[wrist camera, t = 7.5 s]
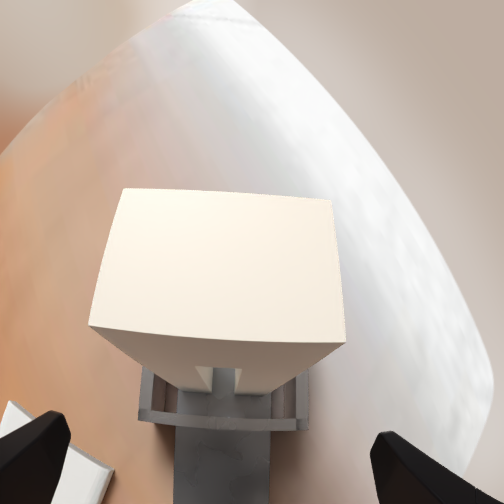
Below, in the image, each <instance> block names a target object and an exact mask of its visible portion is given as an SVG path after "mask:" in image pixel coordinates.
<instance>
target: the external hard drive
mask: <svg viewBox="0 0 504 504" xmlns="http://www.w3.org/2000/svg"><path fill="white" fill-rule="evenodd" d="M34 419H36V418H35V417H34V416H33V415H32V414H30V413H29V412H28V411H27V410H25V409H24V408H23V407H22V406H20V405H19V404H18V403H17V402H16V401H10V400H9V401H8V404H7V407H6V410H5V412H4V415H3V418H2V421H1V424H0V438H1V437H3V436H5V435H7V434H9V433H11V432H12V431H14V430H16V429H18V428H20V427H21V426H23V425H25V424H27V423H29V422H30V421H32V420H34ZM113 472H114V469H113V468H112V467H110V466H108V465H106V464H104V463H103V462H101V461H99V460H98V459H96V458H94V457H92V456H91V455H89V454H88V453H86V452H84V451H83V450H81V449H80V448H78V447H76V446H75V445H73V444H72V443H69V447H68V450H67V454H66V458H65V462H64V466H63V470H62V474H61V477H60V480H59V483H58V486H57V489H56V491H55V494H54V497H53V500H52V502H51V504H101V502H102V500H103V497H104V495H105V492H106V489H107V487H108V484H109V482H110V479H111V477H112V474H113Z"/></svg>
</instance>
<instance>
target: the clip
mask: <svg viewBox="0 0 504 504" xmlns="http://www.w3.org/2000/svg"><path fill="white" fill-rule="evenodd" d="M88 326H90V327H91V328H92V329H93V330H95V331H96V332H97V333H99V334H100V335H101V336H103V337H104V338H105V339H106V340H108V341H109V342H110V343H112V344H113V345H114V346H116V347H117V348H119V349H120V350H121V351H123V352H124V353H125V354H127V355H128V356H130V357H131V358H133V359H134V360H135V361H137V362H138V363H140V364H141V365H143V366H144V367H146V368H147V369H149V370H150V371H152V372H153V373H155V374H156V375H158V376H159V377H161V378H162V379H164V380H165V381H167V382H168V383H170V384H172V385H173V386H175V387H176V388H178V389H180V390H181V391H187V392H198V393H211V394H212V378H213V367H217V368H234V369H235V388H234V395H250V396H265V395H267V394H268V393H270V392H272V391H273V390H275V389H276V388H278V387H280V386H281V385H283V384H285V383H286V382H288V381H289V380H291V379H292V378H294V377H296V376H297V375H299V374H300V373H302V372H303V371H305V370H306V369H308V368H309V367H311V366H312V365H314V364H315V363H317V362H318V361H320V360H321V359H323V358H324V357H326V356H327V355H329V354H330V353H331V352H333V351H334V350H336V349H337V348H339V347H340V346H341V345H343V344H344V343H346V335H345V321H344V309H343V297H342V286H341V276H340V267H339V258H338V249H337V241H336V233H335V226H334V219H333V211H332V205H331V200H323V199H313V198H302V197H290V196H278V195H264V194H250V193H235V192H217V191H197V190H171V189H130V188H124V189H123V192H122V195H121V198H120V201H119V204H118V208H117V211H116V214H115V217H114V220H113V224H112V227H111V231H110V234H109V238H108V241H107V245H106V248H105V252H104V256H103V260H102V264H101V268H100V272H99V276H98V280H97V284H96V289H95V293H94V298H93V302H92V307H91V312H90V317H89V322H88Z"/></svg>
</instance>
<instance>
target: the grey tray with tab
mask: <svg viewBox="0 0 504 504" xmlns="http://www.w3.org/2000/svg"><path fill="white" fill-rule="evenodd" d="M234 388H235V369H234V368H217V367H213V378H212V394H211V393H198V392H187V391H181V390H180V389H178V397H177V413H169V412H164V407H165V394H166V381H165V380H164V379H162V378H161V377H159V376H158V375H156V374H155V373H153V372H152V371H150V370H149V369H147V368H146V367H144V366H143V367H142V377H141V388H140V399H139V412H138V420H139V421H145V422H152V423H159V424H167V425H175V426H176V431H175V453H174V488H173V504H268V503H269V473H270V435H271V431H297V430H308V369H306V370H305V371H303V372H302V373H300V374H299V375H297V376H296V377H294V378H292V379H291V380H289V381H288V382H286V383H285V384H284V419H271V392H270V393H268V394H267V395H265V396H250V395H234Z"/></svg>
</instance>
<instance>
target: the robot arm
mask: <svg viewBox="0 0 504 504" xmlns="http://www.w3.org/2000/svg"><path fill="white" fill-rule="evenodd" d="M70 439H71V433H70V430H69V427H68V424H67V422H66V419H65V417H64V415H63V414H62V413H59V412H56V411H52V410H51V411H48V412H46V413H44V414H43V415H41V416H39V417H37V418H36V419H34V420H32V421H30V422H29V423H27V424H25V425H23V426H21V427H20V428H18V429H16V430H14V431H12V432H11V433H9V434H7V435H5V436H3V437H1V438H0V504H51V502H52V500H53V497H54V494H55V491H56V489H57V486H58V483H59V480H60V477H61V474H62V470H63V466H64V462H65V458H66V454H67V450H68V447H69V443H70ZM370 459H371V464H372V469H373V474H374V480H375V485H376V491H377V496H378V500H379V503H380V504H504V503H502V502H500V501H498V500H496V499H494V498H493V497H491V496H489V495H487V494H485V493H484V492H482V491H481V490H479V489H478V488H476V489H475V487H474V486H472V485H471V484H470V483H468V482H466V481H465V480H463V479H462V478H460V477H459V476H457V475H456V474H454V473H453V472H451V471H450V470H448V469H447V468H445V467H444V466H442V465H441V464H439V463H438V462H436V461H435V460H433V459H432V458H431V457H429V456H428V455H426V454H425V453H423V452H422V451H420V450H419V449H418V448H416V447H415V446H413V445H412V444H410V443H409V442H408V441H406V440H405V439H403V438H402V437H401V436H399V435H398V434H396V433H395V432H393V431H386V432H381V433H379V434H378V435H377V438H376V440H375V442H374V444H373V446H372V448H371V451H370Z"/></svg>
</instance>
